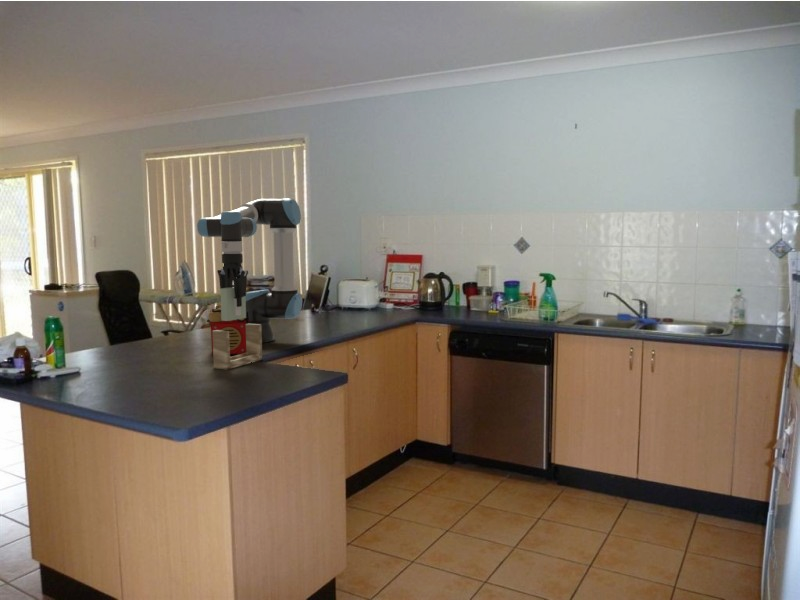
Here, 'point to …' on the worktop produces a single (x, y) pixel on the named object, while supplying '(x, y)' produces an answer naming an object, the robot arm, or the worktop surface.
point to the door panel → (230, 305)
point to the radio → (230, 330)
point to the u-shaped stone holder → (252, 354)
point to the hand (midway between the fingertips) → (233, 314)
